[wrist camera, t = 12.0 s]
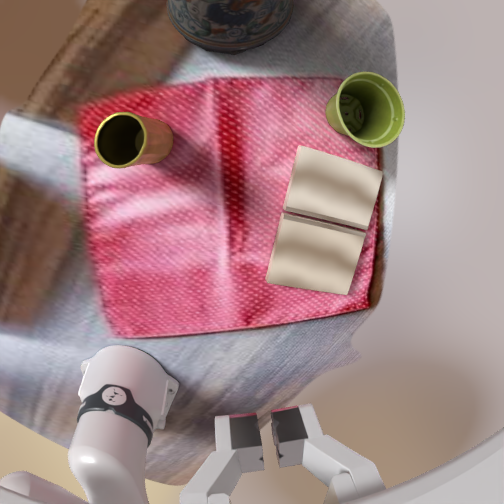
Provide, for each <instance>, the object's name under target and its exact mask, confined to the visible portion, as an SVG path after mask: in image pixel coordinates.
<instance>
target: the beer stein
mask: <svg viewBox="0 0 504 504" xmlns="http://www.w3.org/2000/svg"><path fill="white" fill-rule="evenodd" d="M167 11H168V15H169V18H170V20H171V22H172V24H173V25H174V27H175V28H176V29H177V30H178V31H179V32H180V33H181V34H182V35H183V36H184V37H185V38H186V40H188V41H190V42H192V43H194V44H196V45H198V46H199V47H201V48H203V49H205V50H206V51H213V52H220V53H227V54H233V55H235V54H238V53H241V52H243V51H246V50H249V49H252V48H255V47H258V46H261V45H263V44H264V43H266V42H267V41H269V40H271V39H273V38H274V37H275V36H277V35H278V34H279V33H280V32H281V31H282V30H283V29H284V28H285V26H286V25H287V24H288V22H289V20H290V18H291V15H292V11H293V0H167Z"/></svg>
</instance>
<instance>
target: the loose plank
mask: <svg viewBox="0 0 504 504" xmlns="http://www.w3.org/2000/svg"><path fill="white" fill-rule="evenodd" d="M365 236H366V233H365V232H362V231H360V230H356V229H352V228H347V227H343V226H339V225H335V224H331V223H327V222H322V221H318V220H314V219H309V218H305V217H301V216H296V215H292V214H287V213H283V212H282V213H281V217H280V221H279V226H278V230H277V234H276V238H275V242H274V246H273V250H272V254H271V258H270V262H269V266H268V270H267V274H266V278H265V279H266V281H267V283H271V284H277V285H284V286H290V287H296V288H303V289H310V290H316V291H323V292H330V293H337V294H344V295H347V294H348V291H349V288H350V285H351V281H352V278H353V275H354V272H355V269H356V266H357V262H358V259H359V256H360V252H361V249H362V245H363V242H364V238H365Z"/></svg>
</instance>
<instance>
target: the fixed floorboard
mask: <svg viewBox="0 0 504 504" xmlns="http://www.w3.org/2000/svg"><path fill="white" fill-rule="evenodd" d="M382 176H383V172H382V171H379V170H376V169H374V168H371V167H368V166H365V165H362V164H359V163H356V162H353V161H350V160H347V159H344V158H341V157H338V156H335V155H331V154H328V153H325V152H321V151H318V150H315V149H311V148H308V147H304V146H298V149H297V153H296V157H295V161H294V165H293V169H292V173H291V177H290V181H289V185H288V189H287V193H286V197H285V201H284V205H283V209H284V210H285V211H289V212H294V213H298V214H303V215H307V216H311V217H316V218H320V219H324V220H328V221H332V222H337V223H341V224H345V225H349V226H353V227H357V228H361V229H365V230H367V229H368V225H369V222H370V218H371V215H372V212H373V208H374V205H375V201H376V198H377V194H378V191H379V187H380V183H381V179H382Z"/></svg>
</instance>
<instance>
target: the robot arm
mask: <svg viewBox="0 0 504 504" xmlns="http://www.w3.org/2000/svg"><path fill="white" fill-rule="evenodd" d="M81 370H82V373H83V376H84V377H83V380H82V383H81V386H80V389H79V393H78V395H79V396H80V399H81V401H82V405H81V406H80V409H79V412H78V417H77V423H78V425H77V428H76V430H75V433H74V436H73V439H72V442H71V445H70V448H69V451H68V462H69V466H70V469H71V471H72V473H73V475H74V476H75V478H76V479H77V480H78V482H79V483H80V485H81V486H82V488H83V489H84V491H85V493H86V496H87V498H88V502H89V503H88V502H87V501H85V500H83V499H81V498H79V497H78V496H76V495H74V494H72V493H70V492H68V491H67V490H66V489H64V488H62V487H60V486H58V485H56V484H54V483H51V482H49V481H47V480H45V479H42V478H40V477H38V476H36V475H33V474H31V473H29V472H27V471H17V472H13V473H10V474H8V475H6V476H4V477H3V478H2V479H1V480H0V504H149V501H148V498H147V494H146V489H145V465H146V454H147V448H148V447H149V445H150V443H151V440H152V436H153V432H154V430H155V429H158V428H159V429H164V427H165V423H166V419H165V418H166V416H167V413H168V411H169V409H170V406H171V404H172V402H173V399H174V397H175V395H176V393H177V390H178V387H179V383H178V381H177V380H175V379H174V378H172V377H171V376H169V375H168V374H167V373H166V372H165V371H164V370H163V368H162V367H161V365H160V364H159V363H158V362H157V361H156V360H155V359H154V358H152V357H151V356H150V355H148V354H146V353H145V352H143V351H141V350H138V349H136V348H132V347H128V346H121V345H115V346H109V347H105V348H103V349H101V350H100V351H98V352H97V353H96V355H95V356H94V357H92V358H90V359H87V360H84V361H83V362H82V363H81ZM271 419H272V423H271V426H272V435H273V440H274V445H275V446H276V454H277V458H278V463H279V467H287V466H294V465H300V464H302V465H303V466H304V467H305V468H306V469H307V470H308V471H309V472H311V473H312V474H313V475H314V476H315V477H317V478H318V479H319V480H320V481H321V482H323V483H324V484H325V485H326V486H327V487H329V489H328V492H327V495H326V498H325V500H324V503H323V504H504V427H503V428H502V429H501V430H499V431H498V432H496V433H495V434H493V435H492V436H490V437H489V438H487V439H485V440H484V441H482V442H481V443H479V444H477V445H476V446H474V447H473V448H471V449H469V450H468V451H466V452H464V453H462V454H461V455H459V456H457V457H455V458H453V459H451V460H450V461H448V462H446V463H444V464H442V465H440V466H438V467H436V468H434V469H432V470H430V471H428V472H426V473H423V474H421V475H419V476H417V477H415V478H412V479H410V480H408V481H405V482H403V483H401V484H398V485H395V486H393V487H391V488H388V489H386V488H385V486H384V483H383V482H382V479H381V477H380V475H379V473H378V470H377V468H376V466H375V464H374V463H373V462H371V461H370V460H368V459H366V458H365V457H363V456H361V455H360V454H358V453H356V452H355V451H353V450H351V449H350V448H348V447H347V446H345V445H343V444H342V443H340V442H339V441H337V440H336V439H334V438H332V437H331V436H329V435H328V434H327V435H324V434H323V432H322V429H321V426H320V424H319V421H318V418H317V416H316V413H315V410H314V408H313V405H312V404H304V405H299V406H292V407H287V408H281V409H275V410H271ZM215 436H216V451H212V452H211V454H210V455H209V456H208V458H207V459H206V460H205V462H204V463H203V464H202V466H201V467H200V468H199V470H198V471H197V472H196V474H195V475H194V476H193V478H192V479H191V480H190V481H189V483H188V484H187V485H186V486H185V488H184V489H183V490H182V492H181V493H180V504H231V501H230V499H229V496H230V495H231V493H232V491H233V490H234V488H235V486H236V484H237V482H238V481H239V479H240V477H241V475H242V473H246V472H253V471H260V470H264V461H263V449H262V443H261V436H260V431H259V427H258V419H257V414H256V413H248V414H236V415H224V416H215Z"/></svg>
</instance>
